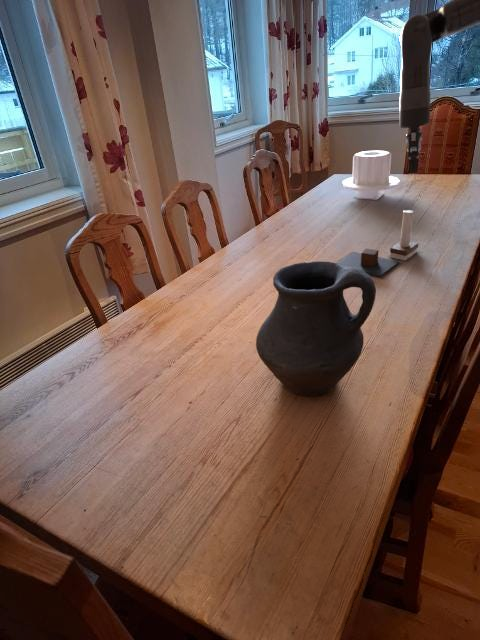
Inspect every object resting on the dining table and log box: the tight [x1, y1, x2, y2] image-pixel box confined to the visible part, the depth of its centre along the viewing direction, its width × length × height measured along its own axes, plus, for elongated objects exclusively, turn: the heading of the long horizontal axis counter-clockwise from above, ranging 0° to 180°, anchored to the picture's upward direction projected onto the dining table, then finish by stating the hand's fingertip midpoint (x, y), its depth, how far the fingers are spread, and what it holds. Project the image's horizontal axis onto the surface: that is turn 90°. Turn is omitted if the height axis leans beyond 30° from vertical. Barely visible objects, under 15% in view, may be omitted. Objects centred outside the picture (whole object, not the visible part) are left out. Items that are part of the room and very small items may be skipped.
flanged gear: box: [342, 150, 400, 201], centre depth 196 cm, size 25×25×19 cm
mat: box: [335, 251, 400, 278], centre depth 134 cm, size 16×12×1 cm
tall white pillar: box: [389, 209, 419, 261], centre depth 135 cm, size 8×5×14 cm, turn 136°
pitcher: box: [255, 260, 377, 397], centre depth 81 cm, size 21×22×25 cm
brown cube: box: [360, 248, 380, 267], centre depth 132 cm, size 4×4×4 cm
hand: (413, 170), depth 120 cm, fingers open, 8 cm apart
